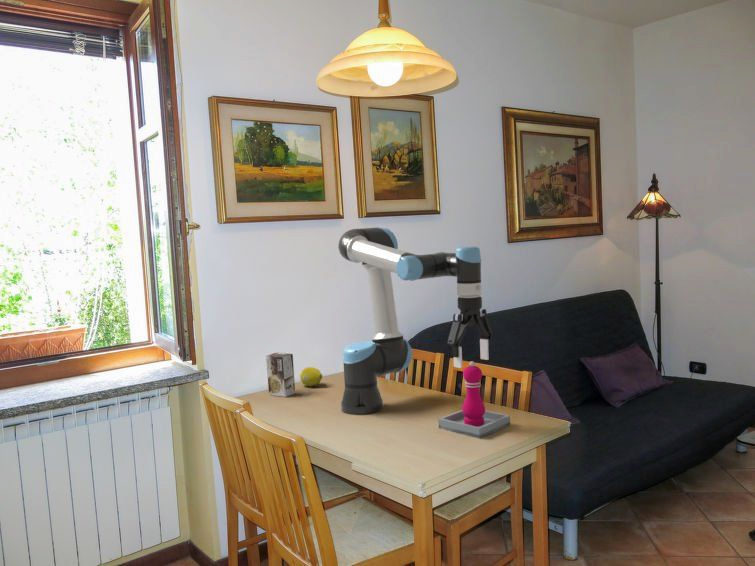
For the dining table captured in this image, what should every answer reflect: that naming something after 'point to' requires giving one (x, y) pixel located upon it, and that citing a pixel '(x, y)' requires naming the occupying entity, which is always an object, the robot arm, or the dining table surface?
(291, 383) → the coffee box
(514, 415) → the dining table surface
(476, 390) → the pepper mill
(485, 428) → the tray
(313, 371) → the lemon
